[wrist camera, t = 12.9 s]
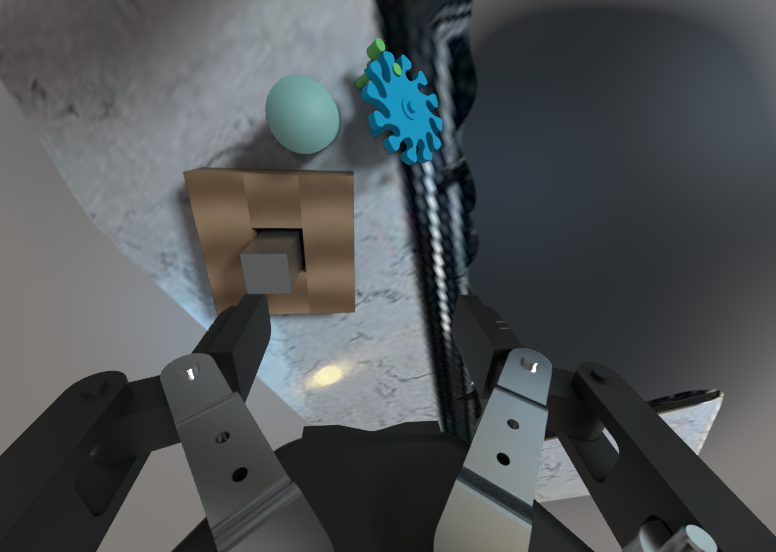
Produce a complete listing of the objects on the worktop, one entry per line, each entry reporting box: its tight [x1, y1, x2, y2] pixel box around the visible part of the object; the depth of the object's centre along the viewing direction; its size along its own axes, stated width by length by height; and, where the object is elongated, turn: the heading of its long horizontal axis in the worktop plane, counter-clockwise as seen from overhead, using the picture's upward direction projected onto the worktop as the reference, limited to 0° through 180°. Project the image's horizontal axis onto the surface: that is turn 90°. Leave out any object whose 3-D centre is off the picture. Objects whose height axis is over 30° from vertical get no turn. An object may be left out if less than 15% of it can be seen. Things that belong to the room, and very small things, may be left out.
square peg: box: [240, 228, 305, 294], centre depth 32 cm, size 4×4×10 cm
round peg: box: [265, 75, 341, 154], centre depth 28 cm, size 6×6×8 cm
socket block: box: [183, 167, 355, 315], centre depth 35 cm, size 16×16×4 cm
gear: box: [356, 38, 442, 165], centre depth 30 cm, size 11×6×10 cm
